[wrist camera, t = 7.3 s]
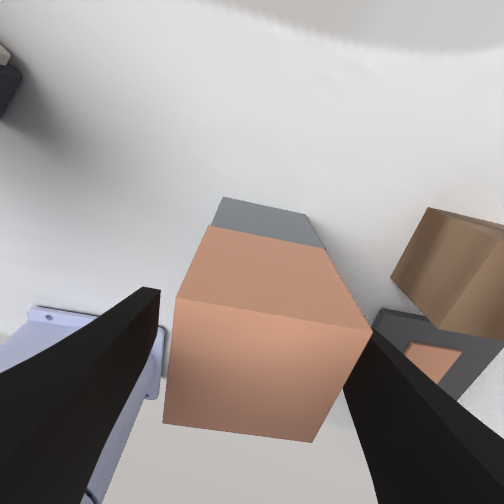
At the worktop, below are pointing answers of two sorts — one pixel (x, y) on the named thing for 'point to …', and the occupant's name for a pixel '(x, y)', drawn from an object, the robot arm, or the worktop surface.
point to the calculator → (7, 79)
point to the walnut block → (456, 273)
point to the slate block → (266, 222)
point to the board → (438, 349)
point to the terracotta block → (260, 338)
